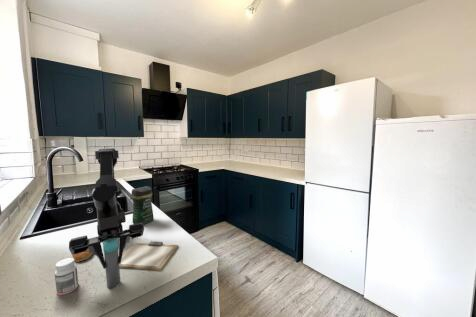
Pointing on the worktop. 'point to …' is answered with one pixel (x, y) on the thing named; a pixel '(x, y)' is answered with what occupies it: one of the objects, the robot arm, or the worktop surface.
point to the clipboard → (147, 256)
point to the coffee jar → (142, 205)
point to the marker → (111, 262)
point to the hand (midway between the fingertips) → (112, 265)
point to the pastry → (82, 256)
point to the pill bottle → (66, 276)
